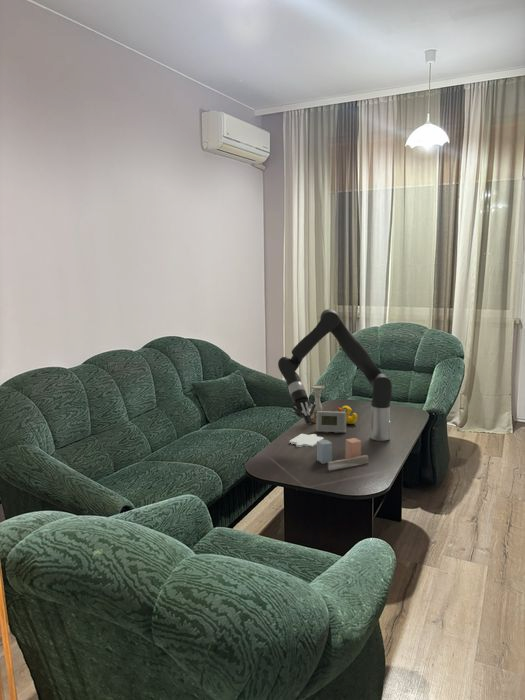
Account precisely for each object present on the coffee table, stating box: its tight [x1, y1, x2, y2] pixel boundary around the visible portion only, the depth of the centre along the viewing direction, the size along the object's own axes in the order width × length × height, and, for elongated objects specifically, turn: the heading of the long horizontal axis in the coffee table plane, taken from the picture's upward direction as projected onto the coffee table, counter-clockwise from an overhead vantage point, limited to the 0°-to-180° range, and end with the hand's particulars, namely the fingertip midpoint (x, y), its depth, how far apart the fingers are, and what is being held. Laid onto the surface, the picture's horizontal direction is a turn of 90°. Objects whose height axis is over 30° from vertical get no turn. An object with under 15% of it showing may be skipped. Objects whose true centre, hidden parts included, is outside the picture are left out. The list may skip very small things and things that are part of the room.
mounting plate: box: [288, 433, 325, 448], centre depth 272 cm, size 18×13×2 cm
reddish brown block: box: [344, 437, 362, 459], centre depth 246 cm, size 5×5×9 cm
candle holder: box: [310, 384, 325, 424], centre depth 304 cm, size 9×9×20 cm
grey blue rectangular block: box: [316, 439, 333, 465], centre depth 244 cm, size 5×5×9 cm
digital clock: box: [315, 410, 347, 434], centre depth 287 cm, size 16×9×11 cm, turn 70°
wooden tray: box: [327, 454, 369, 472], centre depth 244 cm, size 14×20×4 cm
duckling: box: [337, 405, 358, 425], centre depth 300 cm, size 11×5×10 cm, turn 61°
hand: (309, 423), depth 255 cm, fingers closed
